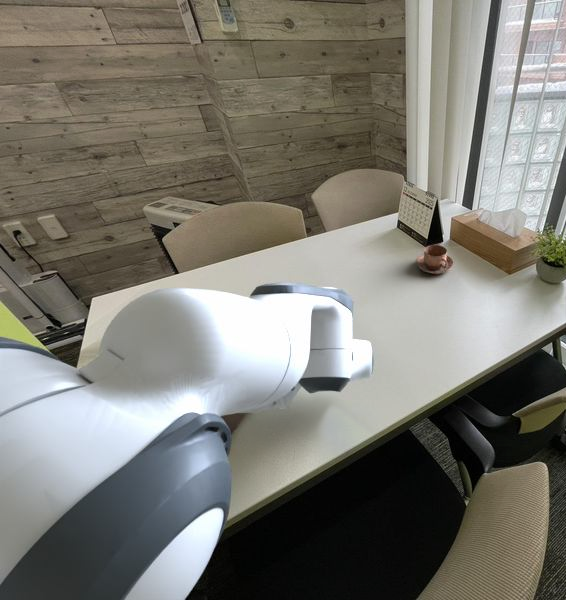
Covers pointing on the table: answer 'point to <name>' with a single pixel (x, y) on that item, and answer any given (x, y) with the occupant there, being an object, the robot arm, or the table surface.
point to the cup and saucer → (435, 260)
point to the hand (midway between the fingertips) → (222, 364)
